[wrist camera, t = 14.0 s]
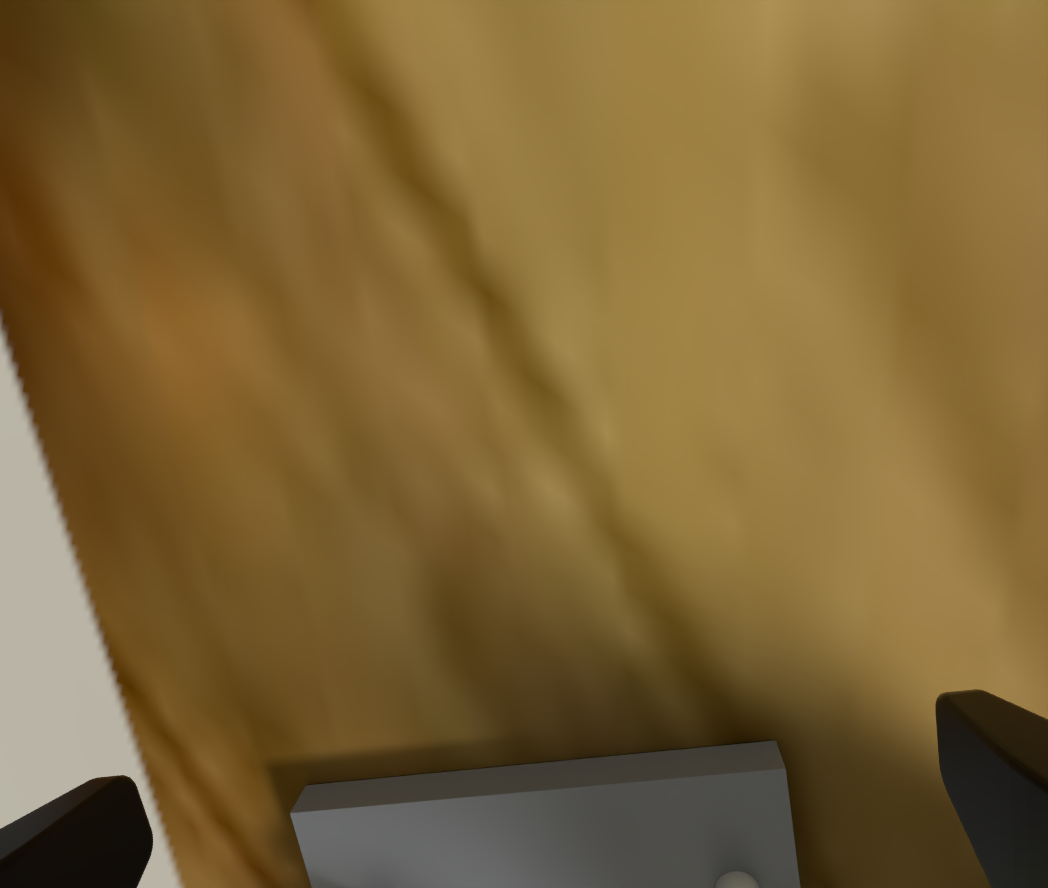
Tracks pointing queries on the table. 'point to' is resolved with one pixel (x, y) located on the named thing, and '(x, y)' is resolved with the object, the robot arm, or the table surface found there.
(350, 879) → the standoff plate
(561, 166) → the table surface
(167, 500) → the table surface
